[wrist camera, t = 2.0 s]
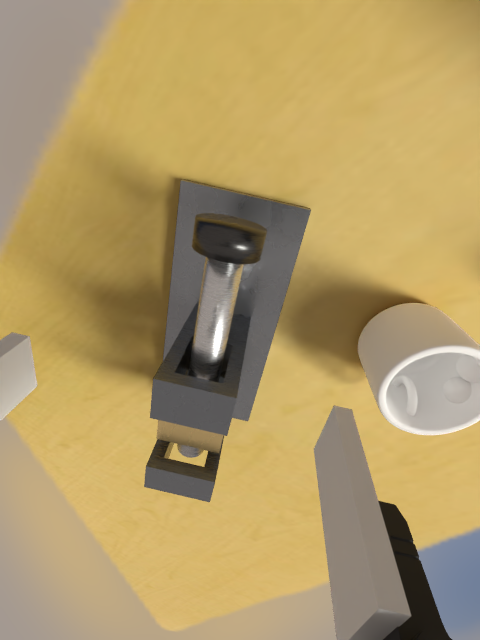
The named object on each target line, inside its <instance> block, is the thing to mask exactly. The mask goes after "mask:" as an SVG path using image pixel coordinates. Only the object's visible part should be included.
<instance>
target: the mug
mask: <svg viewBox="0 0 480 640" xmlns="http://www.w3.org/2000/svg"><path fill="white" fill-rule="evenodd" d="M358 354H359V358H360V361H361V364H362V367H363V369H364V372H365V374H366V377H367V379H368V382H369V385H370V387H371V390H372V392H373V395H374V397H375V400H376V402H377V405H378V407H379V409H380V411H381V413H382V415H383V416H384V417H385V418H386V419H387V420H388V421H389V422H390V423H391V424H392V425H394V426H395V427H397V428H399V429H401V430H404V431H406V432H410V433H414V434H420V435H440V434H447V433H451V432H455V431H458V430H461V429H464V428H466V427H469V426H471V425H473V424H474V423H476V422H478V421H479V420H480V345H479V344H478V343H477V342H476V341H475V340H474V339H473V338H471V337H470V336H469V335H468V334H467V333H466V332H465V331H464V330H463V329H462V328H461V327H460V326H459V325H458V324H456V323H455V322H454V321H453V320H452V319H451V318H450V317H449V316H448V315H446V314H445V313H444V312H443V311H441V310H439V309H438V308H436V307H433V306H431V305H427V304H422V303H405V304H400V305H396V306H393V307H390V308H388V309H386V310H384V311H382V312H380V313H379V314H377V315H376V316H375V317H373V318H372V319H371V320H370V321H369V322H368V323H367V325H366V326H365V327H364V329H363V331H362V333H361V335H360V337H359V341H358Z"/></svg>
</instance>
